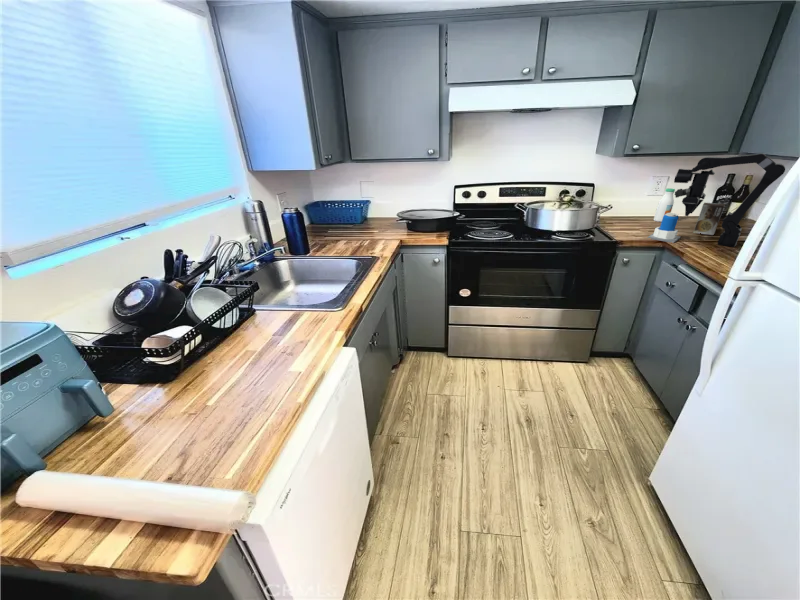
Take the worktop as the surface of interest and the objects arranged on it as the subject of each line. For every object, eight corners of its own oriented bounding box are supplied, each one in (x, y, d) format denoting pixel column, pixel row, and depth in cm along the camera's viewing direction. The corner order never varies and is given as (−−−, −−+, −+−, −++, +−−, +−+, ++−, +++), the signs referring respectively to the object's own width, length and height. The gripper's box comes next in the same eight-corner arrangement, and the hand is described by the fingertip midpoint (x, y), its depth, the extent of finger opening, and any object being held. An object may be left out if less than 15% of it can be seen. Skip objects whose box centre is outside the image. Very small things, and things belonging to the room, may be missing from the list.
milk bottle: (656, 222, 215) (667, 189, 206) (650, 219, 222) (660, 187, 213) (670, 222, 214) (681, 189, 205) (663, 219, 220) (674, 187, 211)
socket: (680, 238, 183) (683, 229, 181) (673, 242, 176) (676, 233, 174) (654, 234, 192) (657, 225, 189) (647, 238, 185) (650, 229, 183)
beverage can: (671, 238, 179) (679, 216, 173) (656, 237, 183) (663, 215, 177) (672, 234, 184) (679, 213, 177) (658, 233, 187) (664, 211, 181)
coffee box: (714, 233, 191) (725, 203, 183) (713, 235, 186) (725, 205, 179) (693, 230, 196) (704, 202, 189) (692, 232, 192) (703, 204, 185)
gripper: (683, 180, 182) (674, 210, 189) (674, 184, 171) (665, 215, 178) (710, 182, 175) (699, 212, 181) (702, 186, 164) (691, 218, 170)
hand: (688, 214), depth 178 cm, fingers open, 9 cm apart
